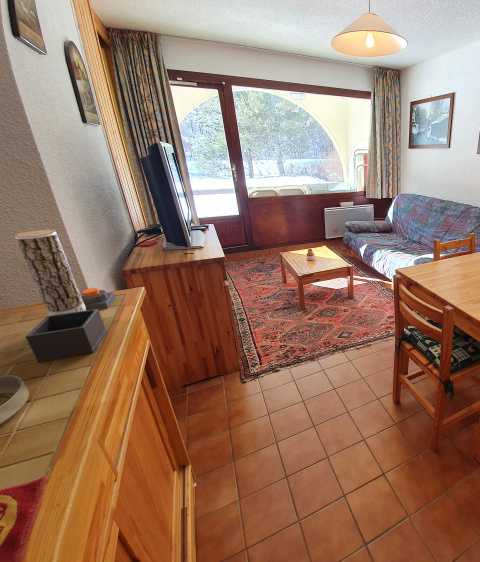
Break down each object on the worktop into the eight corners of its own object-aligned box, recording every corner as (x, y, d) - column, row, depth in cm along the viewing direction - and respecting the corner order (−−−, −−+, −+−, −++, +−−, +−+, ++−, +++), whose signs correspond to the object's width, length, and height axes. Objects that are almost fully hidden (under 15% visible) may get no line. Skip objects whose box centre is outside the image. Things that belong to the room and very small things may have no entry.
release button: (82, 299, 89) (79, 293, 89) (86, 294, 92) (84, 288, 92) (97, 297, 91) (95, 291, 90) (101, 292, 94) (99, 287, 93)
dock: (38, 363, 68) (25, 336, 65) (58, 340, 76) (47, 315, 73) (93, 352, 71) (83, 327, 69) (106, 332, 79) (98, 308, 77)
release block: (73, 313, 88) (68, 302, 87) (83, 301, 95) (79, 291, 93) (107, 308, 91) (104, 297, 90) (115, 297, 98) (112, 287, 96)
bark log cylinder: (54, 335, 77) (11, 238, 68) (57, 324, 82) (17, 232, 73) (90, 326, 82) (54, 234, 72) (91, 316, 86) (57, 228, 77)
